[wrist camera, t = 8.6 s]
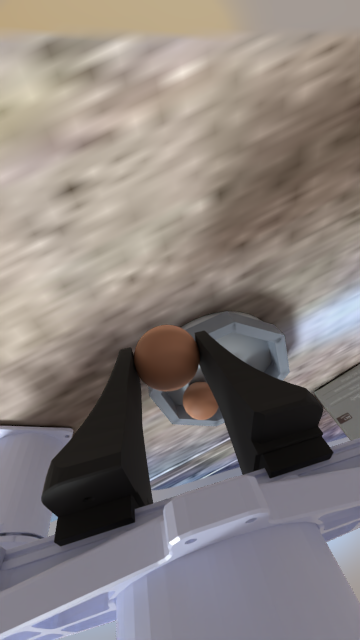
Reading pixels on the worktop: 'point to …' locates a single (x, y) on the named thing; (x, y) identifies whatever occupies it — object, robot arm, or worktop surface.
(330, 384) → the skincare box
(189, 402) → the bead
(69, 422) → the worktop surface
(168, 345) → the bead
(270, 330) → the groove tray
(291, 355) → the worktop surface
